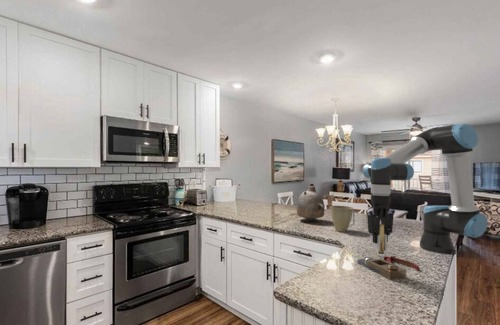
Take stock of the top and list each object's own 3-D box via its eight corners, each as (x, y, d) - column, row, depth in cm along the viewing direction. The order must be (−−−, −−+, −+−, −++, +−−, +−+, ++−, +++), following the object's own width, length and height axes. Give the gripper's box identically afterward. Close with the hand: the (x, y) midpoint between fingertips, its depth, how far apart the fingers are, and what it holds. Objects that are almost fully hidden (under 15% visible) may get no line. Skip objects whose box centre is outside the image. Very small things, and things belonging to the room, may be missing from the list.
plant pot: (349, 234, 166) (349, 209, 166) (326, 230, 175) (326, 207, 175) (355, 230, 178) (355, 206, 178) (334, 226, 186) (334, 204, 187)
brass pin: (380, 251, 111) (380, 223, 111) (385, 253, 108) (386, 225, 108) (374, 252, 110) (374, 223, 110) (380, 254, 107) (380, 225, 107)
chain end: (372, 261, 119) (372, 255, 119) (395, 272, 106) (395, 266, 106) (357, 262, 116) (357, 257, 116) (379, 274, 104) (379, 268, 104)
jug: (290, 221, 203) (290, 183, 204) (301, 217, 221) (301, 182, 221) (320, 225, 189) (321, 184, 190) (330, 220, 207) (330, 183, 207)
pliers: (390, 255, 128) (390, 250, 128) (421, 272, 108) (421, 266, 108) (368, 256, 127) (368, 250, 127) (395, 273, 107) (395, 266, 107)
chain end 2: (380, 265, 114) (380, 256, 114) (406, 277, 101) (406, 267, 102) (365, 267, 111) (365, 257, 112) (390, 279, 99) (390, 269, 99)
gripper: (388, 193, 115) (388, 246, 115) (358, 193, 111) (358, 249, 110) (402, 195, 108) (402, 251, 108) (371, 195, 103) (371, 254, 103)
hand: (380, 250), depth 109 cm, fingers closed on brass pin, 3 cm apart
